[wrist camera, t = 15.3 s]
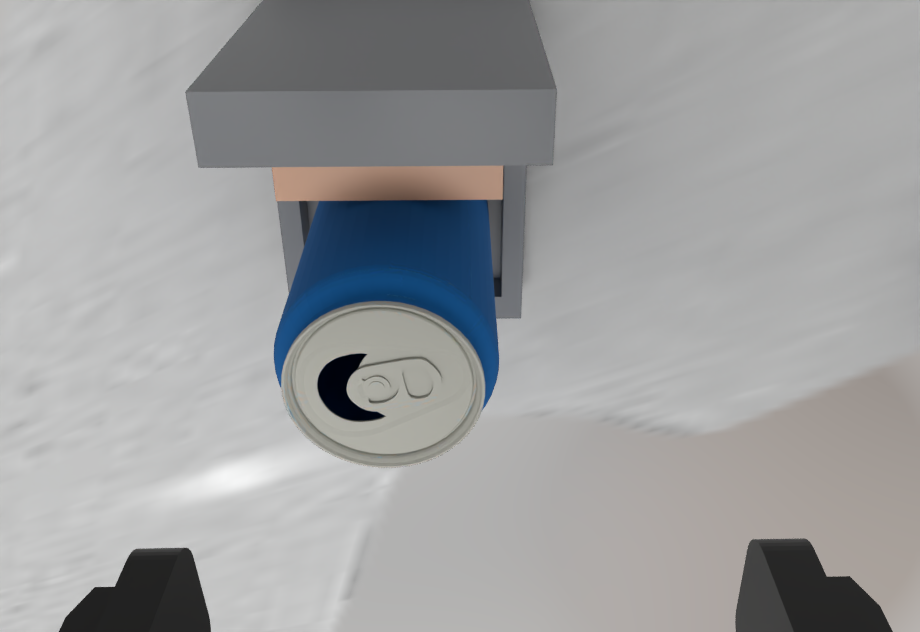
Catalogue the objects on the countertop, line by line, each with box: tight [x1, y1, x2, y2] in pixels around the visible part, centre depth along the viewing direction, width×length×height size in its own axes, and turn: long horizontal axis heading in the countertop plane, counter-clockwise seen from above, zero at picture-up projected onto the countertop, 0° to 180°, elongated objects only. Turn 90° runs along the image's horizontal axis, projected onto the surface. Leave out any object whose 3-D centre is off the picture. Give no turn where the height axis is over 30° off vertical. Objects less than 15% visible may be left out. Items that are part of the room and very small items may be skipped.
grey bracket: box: [185, 0, 557, 318], centre depth 30 cm, size 12×9×11 cm
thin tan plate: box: [272, 166, 503, 201], centre depth 29 cm, size 1×7×6 cm, turn 90°
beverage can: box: [274, 200, 499, 468], centre depth 29 cm, size 6×6×12 cm
